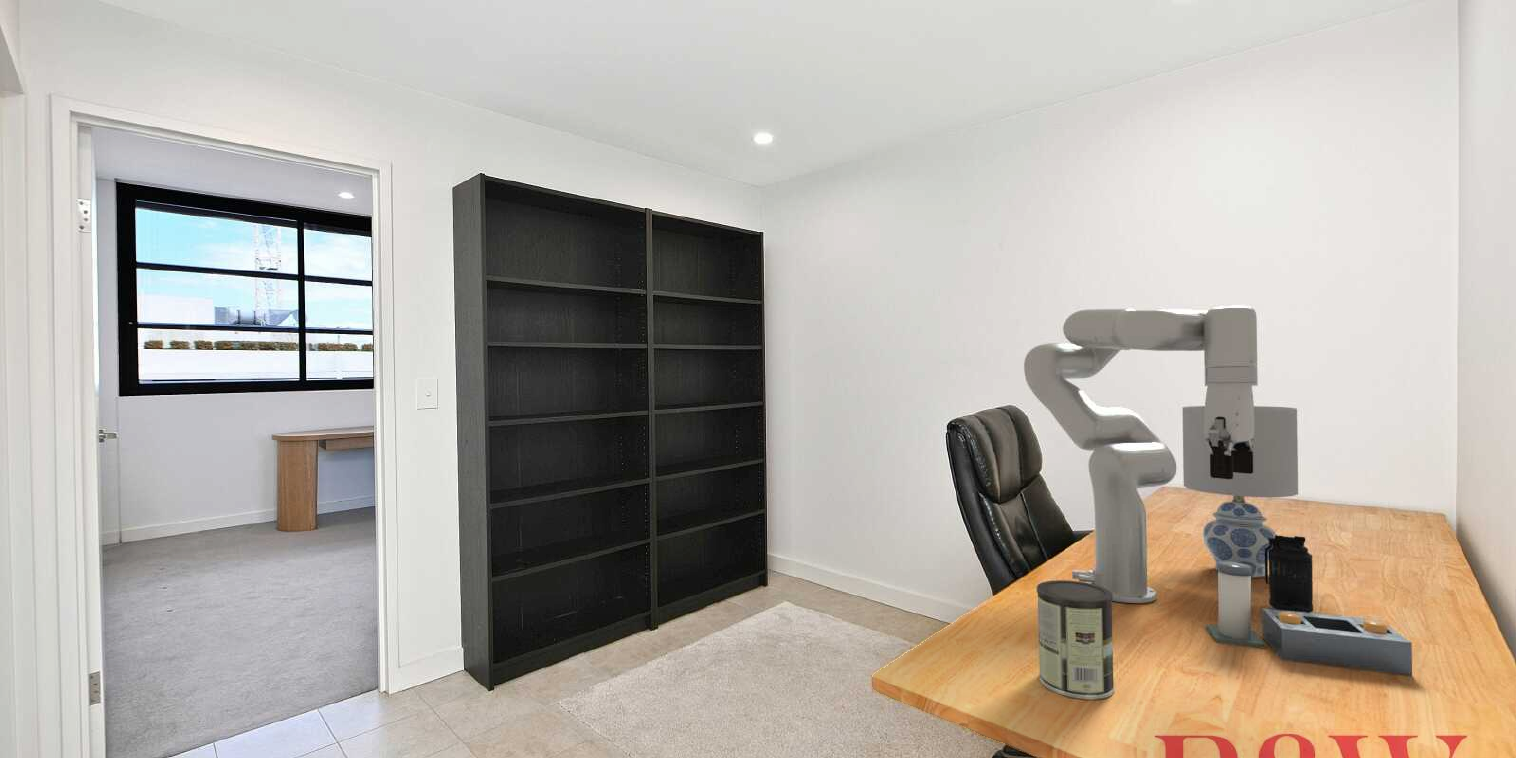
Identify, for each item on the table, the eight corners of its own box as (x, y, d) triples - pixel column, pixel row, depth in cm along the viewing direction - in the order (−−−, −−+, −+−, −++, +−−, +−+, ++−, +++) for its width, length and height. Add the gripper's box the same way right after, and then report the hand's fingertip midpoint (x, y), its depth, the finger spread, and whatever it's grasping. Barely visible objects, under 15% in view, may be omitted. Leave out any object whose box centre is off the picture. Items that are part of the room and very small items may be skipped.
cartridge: (1213, 632, 116) (1213, 564, 116) (1223, 626, 119) (1223, 559, 118) (1245, 641, 112) (1245, 571, 112) (1255, 634, 115) (1255, 565, 115)
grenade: (1306, 611, 127) (1305, 533, 127) (1318, 622, 121) (1317, 541, 121) (1261, 606, 130) (1260, 530, 130) (1270, 617, 124) (1269, 537, 124)
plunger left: (1282, 646, 109) (1282, 616, 109) (1277, 640, 112) (1276, 611, 112) (1303, 649, 108) (1303, 618, 108) (1297, 642, 110) (1297, 613, 110)
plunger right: (1368, 656, 105) (1367, 625, 105) (1360, 649, 107) (1359, 619, 107) (1390, 659, 104) (1390, 627, 104) (1382, 652, 106) (1381, 621, 106)
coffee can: (1077, 665, 105) (1076, 576, 105) (1131, 694, 95) (1129, 596, 95) (1023, 674, 102) (1021, 583, 102) (1072, 705, 92) (1070, 604, 92)
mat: (1215, 642, 113) (1215, 638, 113) (1206, 627, 120) (1206, 624, 120) (1265, 648, 111) (1265, 644, 111) (1253, 632, 117) (1252, 629, 117)
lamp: (1187, 554, 168) (1185, 405, 168) (1296, 567, 155) (1293, 406, 155) (1182, 575, 151) (1179, 409, 151) (1303, 592, 138) (1301, 410, 138)
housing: (1282, 659, 106) (1281, 628, 106) (1262, 636, 115) (1262, 608, 115) (1412, 675, 100) (1411, 642, 100) (1380, 650, 109) (1380, 620, 109)
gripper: (1224, 377, 123) (1225, 468, 123) (1186, 378, 113) (1187, 478, 113) (1273, 376, 117) (1274, 473, 117) (1238, 377, 107) (1239, 483, 107)
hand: (1232, 475), depth 115 cm, fingers open, 9 cm apart
